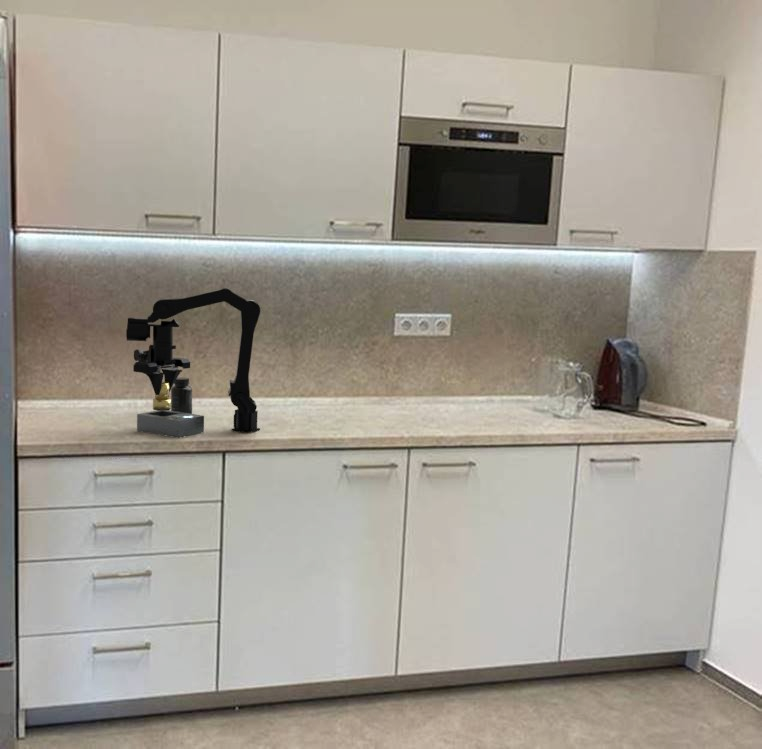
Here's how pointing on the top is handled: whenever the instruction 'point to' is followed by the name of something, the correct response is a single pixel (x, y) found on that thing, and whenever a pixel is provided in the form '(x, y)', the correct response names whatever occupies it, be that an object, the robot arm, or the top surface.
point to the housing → (170, 423)
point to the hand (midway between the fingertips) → (162, 394)
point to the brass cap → (162, 398)
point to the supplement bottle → (181, 396)
